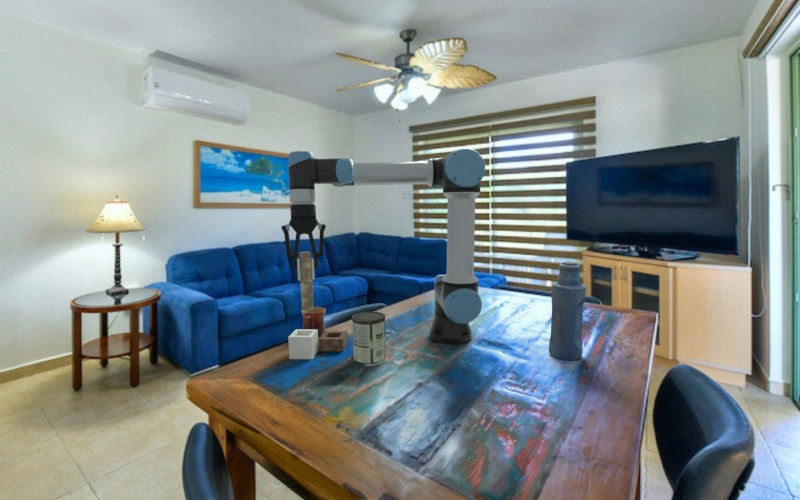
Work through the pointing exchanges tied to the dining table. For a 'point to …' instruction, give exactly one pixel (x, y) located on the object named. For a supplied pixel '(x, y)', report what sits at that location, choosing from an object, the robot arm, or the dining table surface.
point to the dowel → (306, 281)
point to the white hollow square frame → (303, 344)
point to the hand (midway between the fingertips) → (306, 279)
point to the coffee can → (369, 338)
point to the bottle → (567, 313)
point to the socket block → (333, 341)
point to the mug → (314, 319)
